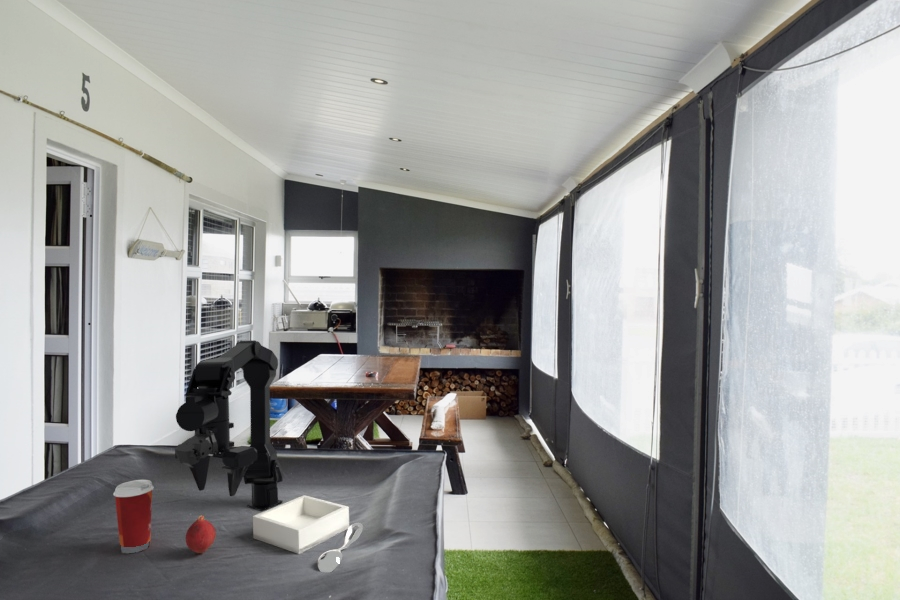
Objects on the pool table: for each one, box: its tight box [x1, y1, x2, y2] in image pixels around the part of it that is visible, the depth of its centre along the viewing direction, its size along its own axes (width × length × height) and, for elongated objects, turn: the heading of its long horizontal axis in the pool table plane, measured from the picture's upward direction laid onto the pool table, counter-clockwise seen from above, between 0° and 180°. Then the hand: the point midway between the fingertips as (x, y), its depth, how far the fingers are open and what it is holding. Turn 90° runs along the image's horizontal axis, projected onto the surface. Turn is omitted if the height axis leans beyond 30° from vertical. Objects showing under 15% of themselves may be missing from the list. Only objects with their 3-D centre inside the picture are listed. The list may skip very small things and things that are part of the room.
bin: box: [252, 494, 350, 555], centre depth 128 cm, size 15×15×5 cm
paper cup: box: [112, 479, 155, 547], centre depth 122 cm, size 8×8×14 cm
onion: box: [185, 515, 217, 554], centre depth 119 cm, size 6×6×8 cm
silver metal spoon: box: [317, 522, 364, 573], centre depth 119 cm, size 20×4×5 cm
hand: (216, 492), depth 120 cm, fingers open, 9 cm apart
